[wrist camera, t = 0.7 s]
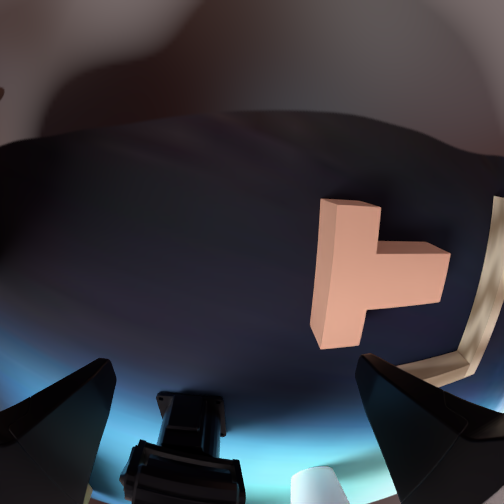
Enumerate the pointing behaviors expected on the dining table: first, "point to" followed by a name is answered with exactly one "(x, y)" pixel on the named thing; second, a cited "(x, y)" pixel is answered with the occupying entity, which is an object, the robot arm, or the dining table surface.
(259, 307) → the dining table surface
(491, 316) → the wooden l block
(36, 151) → the dining table surface
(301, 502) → the foam cup
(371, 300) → the t block
